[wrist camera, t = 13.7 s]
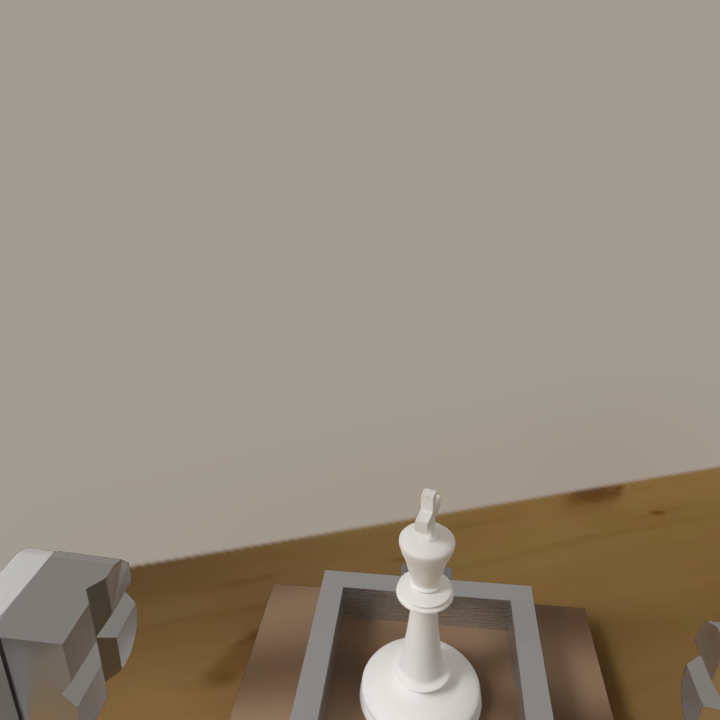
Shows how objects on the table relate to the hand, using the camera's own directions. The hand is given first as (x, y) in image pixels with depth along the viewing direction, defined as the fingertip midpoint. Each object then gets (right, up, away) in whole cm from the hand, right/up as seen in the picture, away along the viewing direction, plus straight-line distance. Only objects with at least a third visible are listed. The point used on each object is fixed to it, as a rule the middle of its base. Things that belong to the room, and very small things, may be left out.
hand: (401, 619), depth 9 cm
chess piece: (+2, -10, +17) cm, 20 cm away
